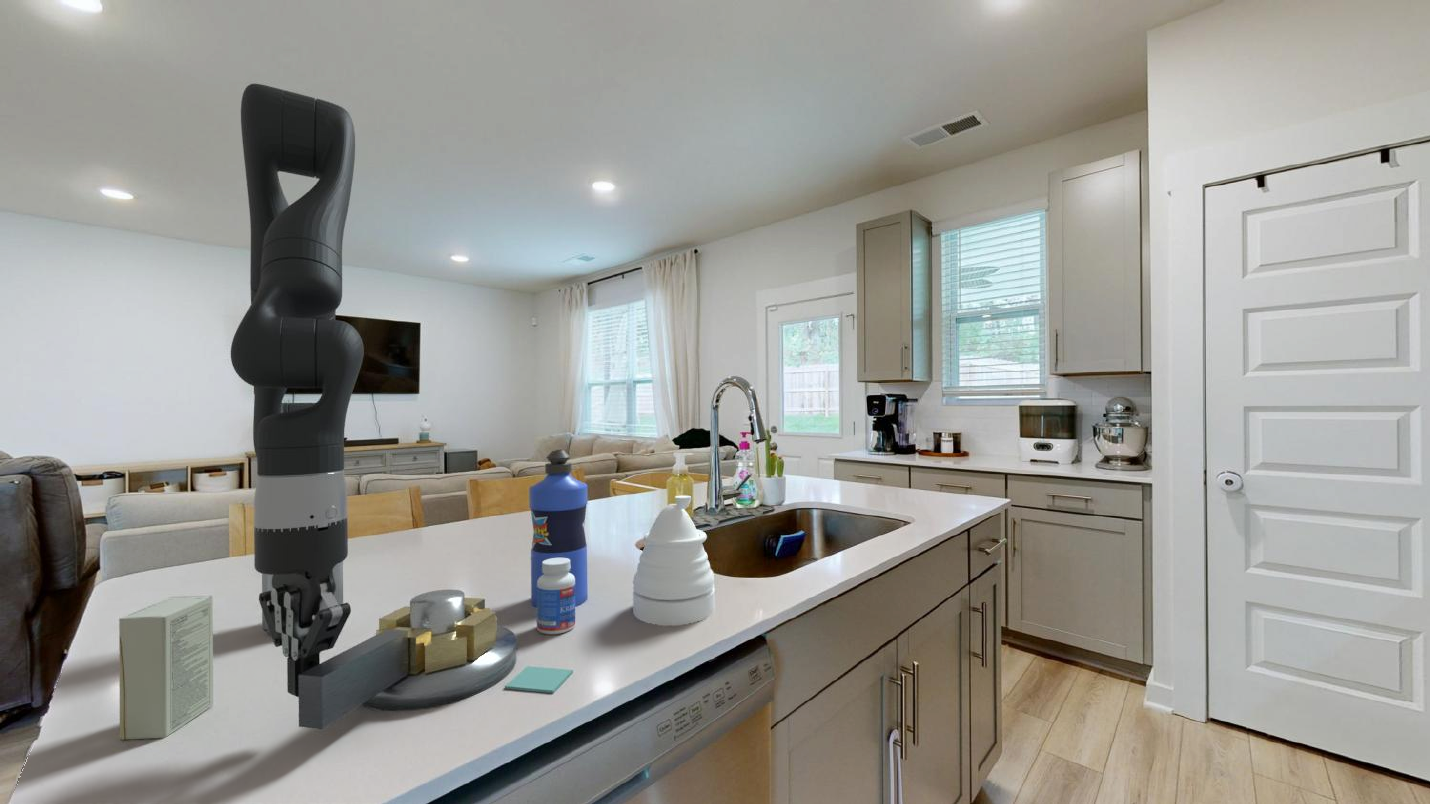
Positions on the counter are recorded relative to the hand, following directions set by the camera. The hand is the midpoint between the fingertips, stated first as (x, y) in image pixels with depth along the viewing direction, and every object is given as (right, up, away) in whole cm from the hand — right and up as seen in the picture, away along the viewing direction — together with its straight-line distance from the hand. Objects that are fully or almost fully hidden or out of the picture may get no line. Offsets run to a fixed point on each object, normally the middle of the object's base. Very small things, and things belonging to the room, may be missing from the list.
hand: (304, 692), depth 56 cm
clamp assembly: (+6, -1, +8) cm, 10 cm away
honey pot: (+34, -4, +33) cm, 48 cm away
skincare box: (-16, -5, +2) cm, 16 cm away
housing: (+7, -4, +13) cm, 15 cm away
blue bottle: (+15, -4, +38) cm, 41 cm away
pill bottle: (+18, -4, +26) cm, 32 cm away
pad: (+20, -4, +10) cm, 23 cm away
